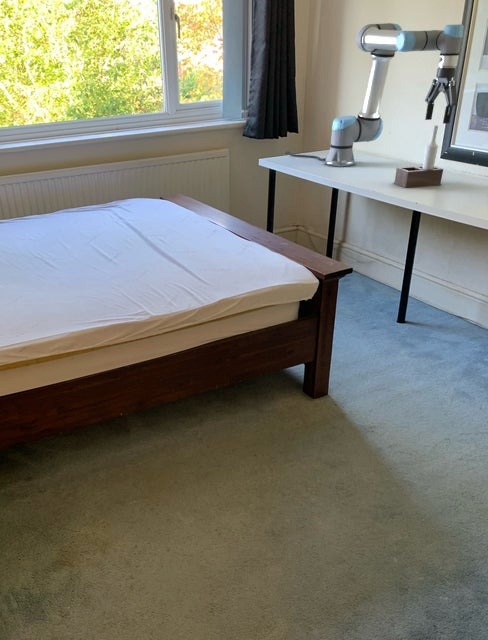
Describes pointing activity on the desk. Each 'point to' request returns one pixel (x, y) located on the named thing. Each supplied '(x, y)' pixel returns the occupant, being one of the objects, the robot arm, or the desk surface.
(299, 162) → the desk surface
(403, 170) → the caddy
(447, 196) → the desk surface
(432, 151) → the bottle
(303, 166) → the desk surface
